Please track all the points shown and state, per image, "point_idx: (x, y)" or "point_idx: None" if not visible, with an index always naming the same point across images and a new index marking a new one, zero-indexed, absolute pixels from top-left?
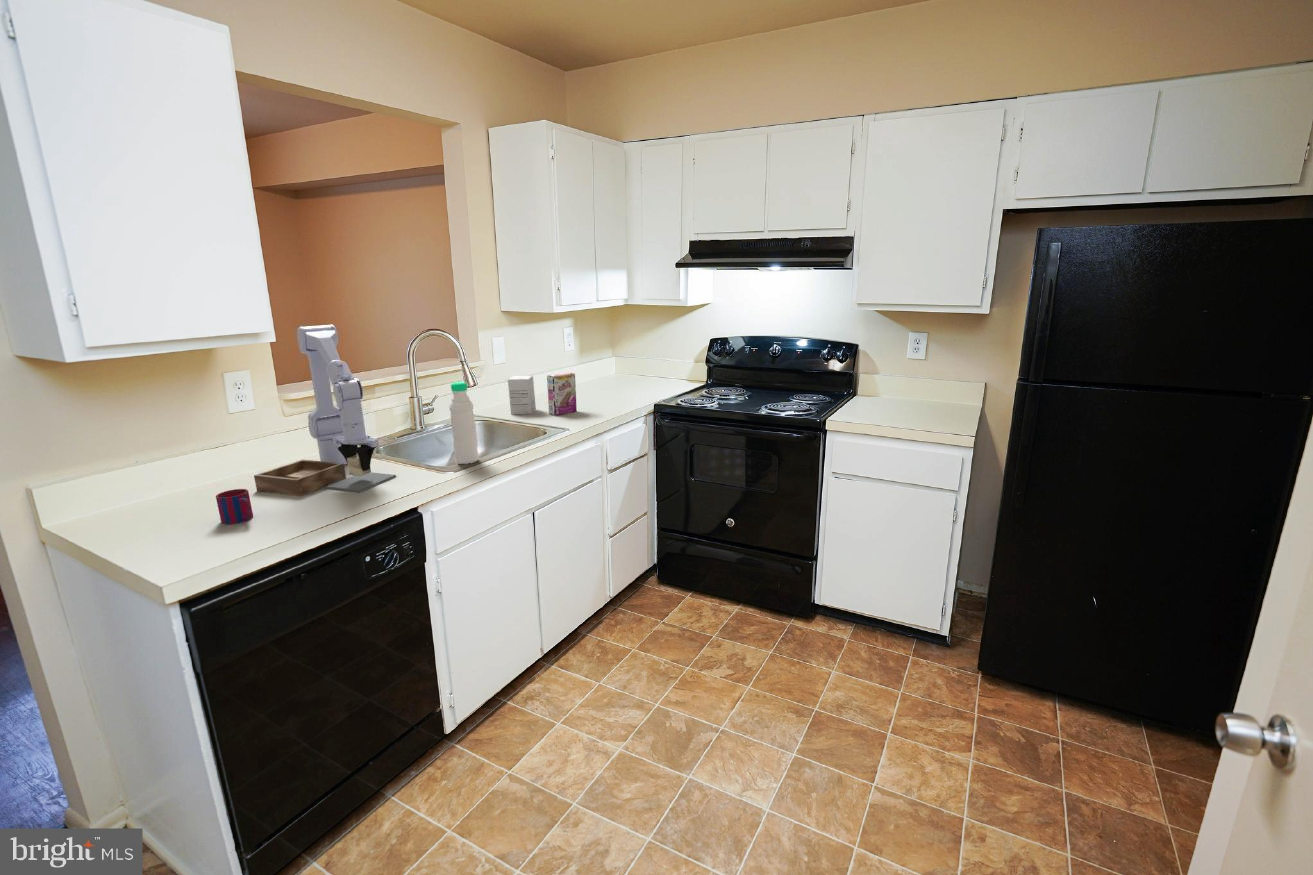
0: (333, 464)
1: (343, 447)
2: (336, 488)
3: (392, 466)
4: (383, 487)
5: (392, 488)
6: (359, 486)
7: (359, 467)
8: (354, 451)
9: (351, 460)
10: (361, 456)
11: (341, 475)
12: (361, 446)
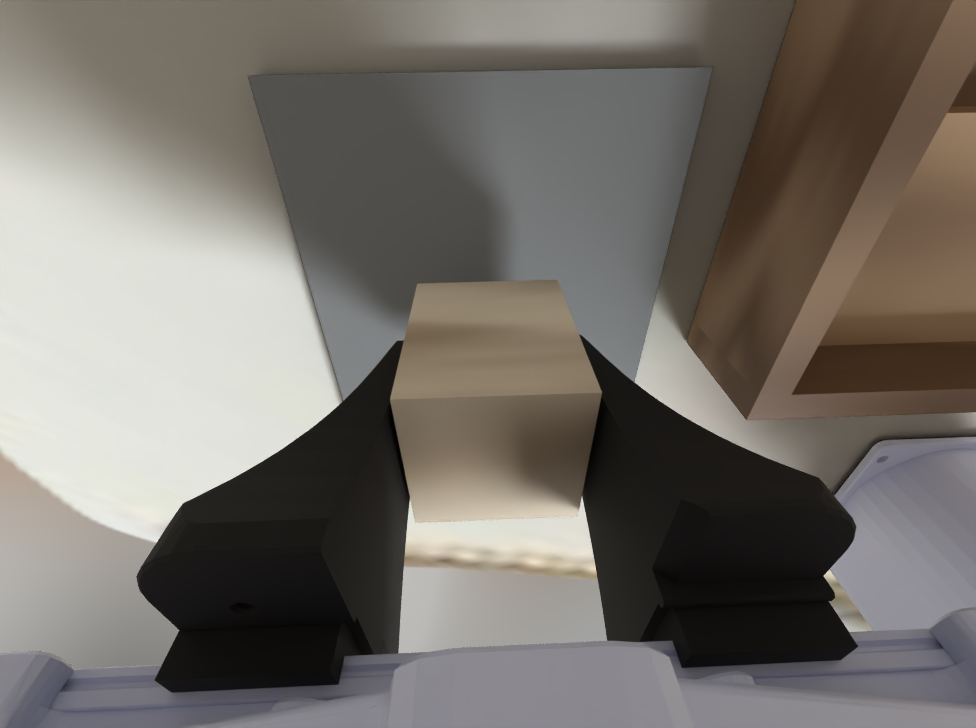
0: (846, 387)
1: (714, 547)
2: (566, 71)
3: (539, 532)
4: (208, 263)
5: (114, 265)
6: (361, 179)
7: (406, 335)
8: (600, 538)
9: (514, 376)
10: (310, 442)
11: (711, 327)
12: (313, 632)
